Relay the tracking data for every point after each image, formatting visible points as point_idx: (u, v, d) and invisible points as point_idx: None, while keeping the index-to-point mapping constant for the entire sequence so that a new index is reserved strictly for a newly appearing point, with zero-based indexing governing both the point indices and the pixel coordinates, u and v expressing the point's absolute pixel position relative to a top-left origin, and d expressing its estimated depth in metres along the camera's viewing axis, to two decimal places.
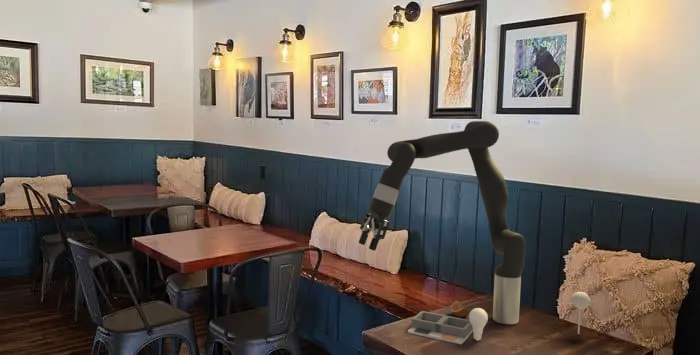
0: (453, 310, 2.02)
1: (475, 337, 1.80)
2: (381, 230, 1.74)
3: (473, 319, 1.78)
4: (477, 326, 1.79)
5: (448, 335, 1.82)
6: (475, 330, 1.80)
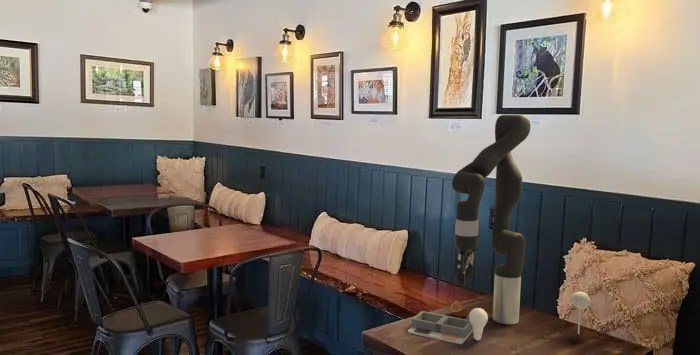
0: (453, 310, 2.02)
1: (475, 337, 1.80)
2: (465, 263, 1.77)
3: (473, 319, 1.78)
4: (477, 326, 1.79)
5: (448, 335, 1.82)
6: (475, 330, 1.80)
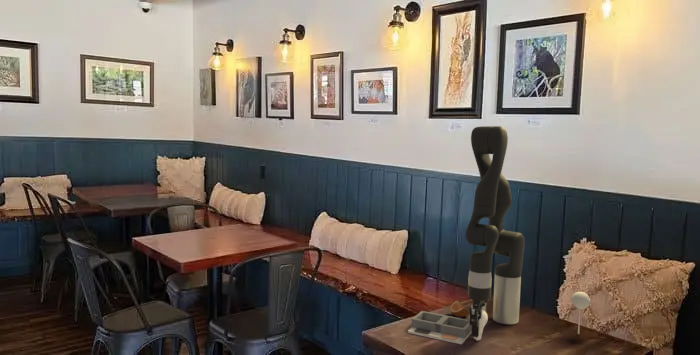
0: (453, 310, 2.02)
1: (475, 337, 1.80)
2: (479, 316, 1.77)
3: None
4: None
5: (448, 335, 1.82)
6: None
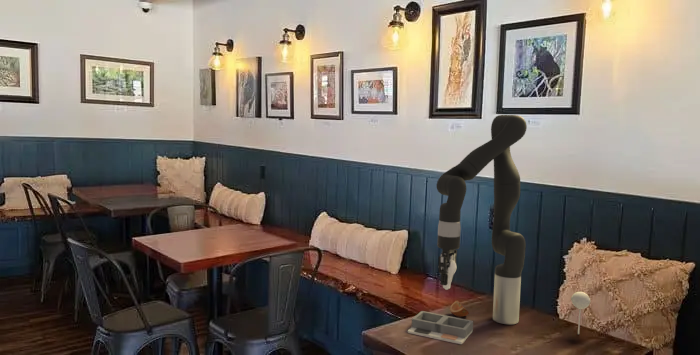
0: (453, 310, 2.02)
1: (444, 286, 1.85)
2: (448, 265, 1.82)
3: None
4: None
5: (448, 335, 1.82)
6: None
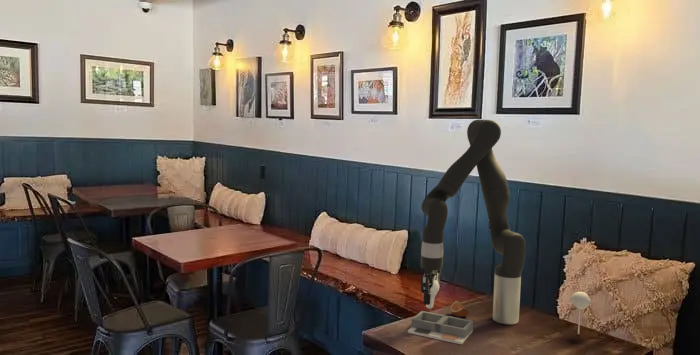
0: (453, 310, 2.02)
1: (427, 305, 1.90)
2: (430, 285, 1.87)
3: None
4: None
5: (448, 335, 1.82)
6: None
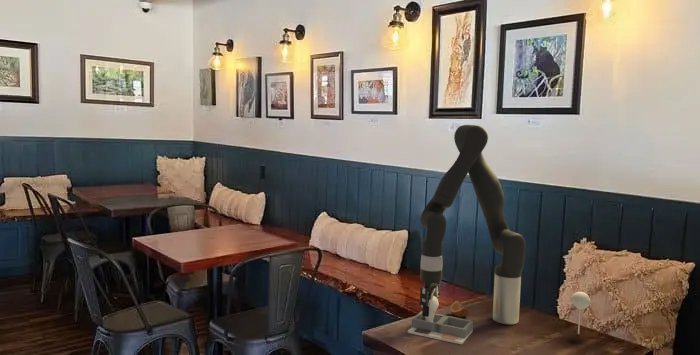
0: (453, 310, 2.02)
1: None
2: (429, 297, 1.87)
3: None
4: None
5: (448, 335, 1.82)
6: None
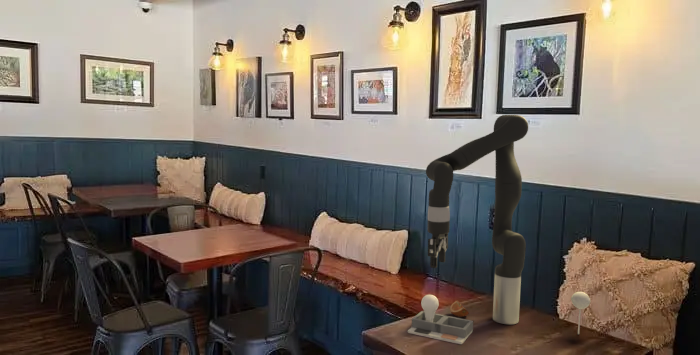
0: (453, 310, 2.02)
1: None
2: (437, 248, 1.85)
3: (424, 305, 1.89)
4: (428, 311, 1.89)
5: (448, 335, 1.82)
6: (427, 315, 1.90)
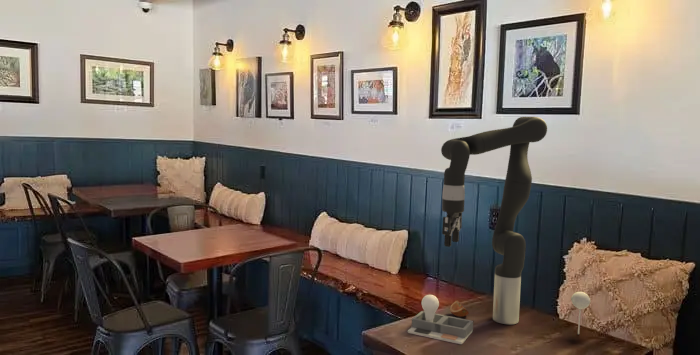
0: (453, 310, 2.02)
1: None
2: (452, 226, 1.85)
3: (425, 305, 1.89)
4: (429, 312, 1.89)
5: (448, 335, 1.82)
6: (427, 315, 1.90)
